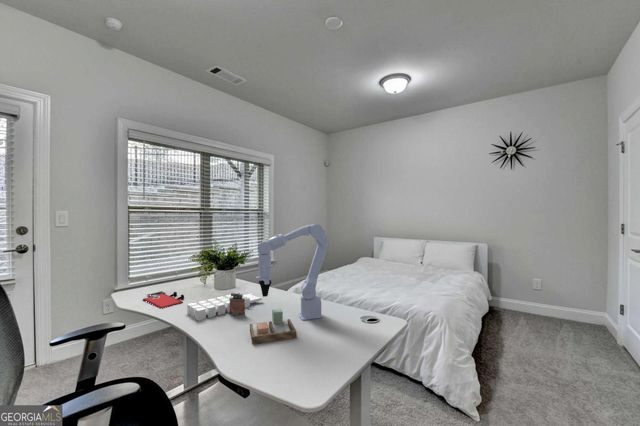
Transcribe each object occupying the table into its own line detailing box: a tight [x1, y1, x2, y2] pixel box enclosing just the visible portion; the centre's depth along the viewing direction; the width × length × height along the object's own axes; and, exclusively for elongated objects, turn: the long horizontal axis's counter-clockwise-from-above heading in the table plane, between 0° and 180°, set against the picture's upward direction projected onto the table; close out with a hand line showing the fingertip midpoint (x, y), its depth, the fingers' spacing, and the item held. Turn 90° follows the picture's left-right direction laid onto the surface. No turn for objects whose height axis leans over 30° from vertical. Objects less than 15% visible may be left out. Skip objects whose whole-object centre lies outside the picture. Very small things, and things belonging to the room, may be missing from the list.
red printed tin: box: [228, 292, 246, 316], centre depth 136 cm, size 8×3×10 cm, turn 74°
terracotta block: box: [256, 321, 270, 335], centre depth 111 cm, size 4×6×4 cm, turn 18°
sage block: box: [271, 308, 284, 325], centre depth 126 cm, size 4×4×5 cm
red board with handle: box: [142, 290, 185, 309], centre depth 158 cm, size 30×3×15 cm
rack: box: [249, 318, 298, 345], centre depth 114 cm, size 17×13×3 cm
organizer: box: [186, 292, 263, 322], centre depth 144 cm, size 13×5×35 cm
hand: (265, 296), depth 130 cm, fingers closed
